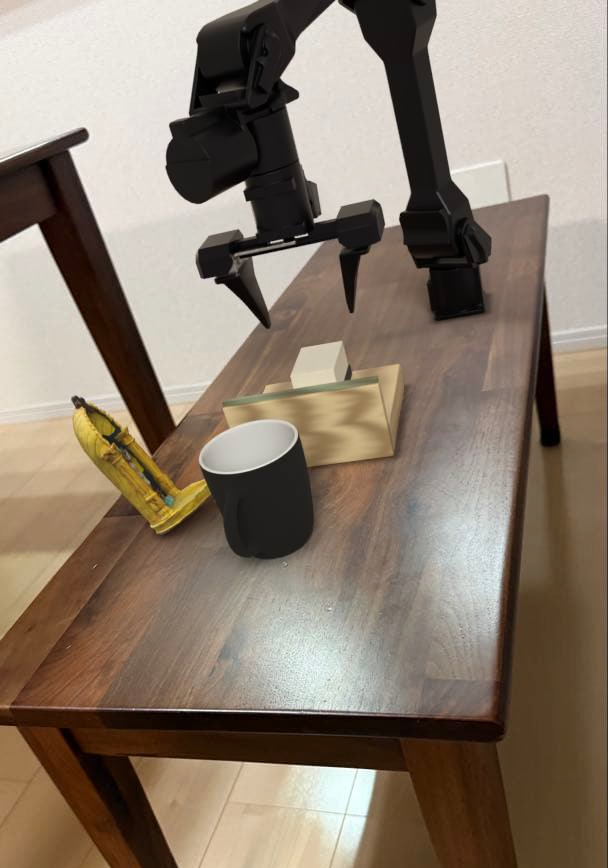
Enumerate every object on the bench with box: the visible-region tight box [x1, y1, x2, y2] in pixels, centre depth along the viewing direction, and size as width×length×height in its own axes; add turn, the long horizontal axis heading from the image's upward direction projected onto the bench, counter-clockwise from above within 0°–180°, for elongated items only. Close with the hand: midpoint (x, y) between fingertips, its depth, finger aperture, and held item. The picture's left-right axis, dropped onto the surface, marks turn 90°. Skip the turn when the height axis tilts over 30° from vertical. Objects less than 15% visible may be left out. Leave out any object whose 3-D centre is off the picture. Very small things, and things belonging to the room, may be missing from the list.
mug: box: [198, 419, 315, 560], centre depth 74 cm, size 12×9×10 cm
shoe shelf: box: [221, 363, 405, 468], centre depth 91 cm, size 16×15×9 cm
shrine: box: [70, 394, 212, 536], centre depth 81 cm, size 12×8×15 cm
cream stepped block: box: [289, 340, 353, 389], centre depth 91 cm, size 5×10×4 cm, turn 170°
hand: (310, 319), depth 89 cm, fingers open, 9 cm apart
